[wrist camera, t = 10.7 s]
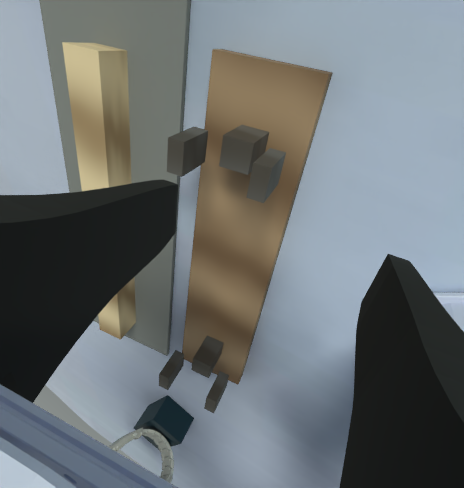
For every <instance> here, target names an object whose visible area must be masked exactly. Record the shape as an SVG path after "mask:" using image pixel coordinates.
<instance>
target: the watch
mask: <svg viewBox="0 0 464 488" xmlns="http://www.w3.org/2000/svg"><path fill="white" fill-rule="evenodd" d="M193 419H194V418H193V417H192V416H191V415H190V414H188V413H187V412H186V411H185V410H184V409H183V408H182V407H180V406H179V405H178V404H177V403H176V402H175V401H174V400H172V399H171V398H170V397H169V396H168V395H167V396H166V397H164V398H162V399H160V400H158V401H156V402H154V403H153V404H151V405H149V406H148V407H147V409H146V410H145V412H144V413H143V415H142V416H141V418H140V419H139V421H138V422H137V424H136V425H135V427H134V429H135V431H133V432H131V433H129V434H127V435H125V436H123V437H121V438H119V439H118V440H117V441H115V442H114V443H113V444H112V445H110V446H109V448H111V449H112V450H114V451H116V452H117V451H118V450H120V449H121V448H122V447H123V446H124V445H125V444H127V443H128V442H130V441H131V440H133V439H138V438H140V437H141V435H142V436H144V437H145V438H146V439H147V440H148V441H149V442H151V443H152V444H153V445H154V446H155V447H156V448H158V449H159V450H160V452H162V453H161V456H162V461H163V462H162V470H164V471H162V473H161V477H160V478H162V479H164V480H166V481H167V482H169V483H171V481H172V476H173V468H174V460H173V453H172V450H170V449H171V446H175V445H178V444H181V443H182V441H183V439H184V437H185V435H186V433H187V431H188V429H189V427H190V425H191V423H192V421H193ZM168 456H169V457H168ZM167 466H168V467H167Z"/></svg>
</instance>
